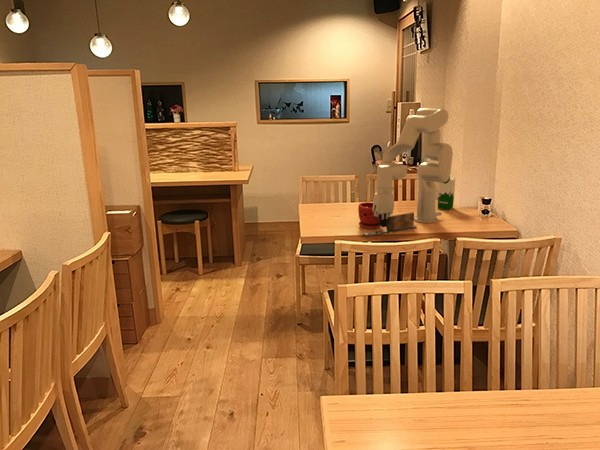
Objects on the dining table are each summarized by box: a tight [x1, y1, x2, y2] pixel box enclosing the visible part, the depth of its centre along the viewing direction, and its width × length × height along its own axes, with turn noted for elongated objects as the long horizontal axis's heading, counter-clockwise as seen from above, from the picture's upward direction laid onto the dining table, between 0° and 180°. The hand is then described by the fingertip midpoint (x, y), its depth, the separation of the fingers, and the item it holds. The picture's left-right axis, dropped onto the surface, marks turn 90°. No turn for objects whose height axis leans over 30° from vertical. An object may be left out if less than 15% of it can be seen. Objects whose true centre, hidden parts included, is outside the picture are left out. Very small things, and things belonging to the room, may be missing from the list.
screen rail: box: [363, 225, 418, 238], centre depth 252 cm, size 31×3×1 cm, turn 117°
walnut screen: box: [385, 211, 415, 230], centre depth 253 cm, size 16×2×7 cm, turn 117°
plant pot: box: [358, 201, 381, 230], centre depth 259 cm, size 13×13×12 cm
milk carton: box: [437, 176, 456, 211], centre depth 294 cm, size 9×9×20 cm
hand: (383, 226), depth 249 cm, fingers closed
